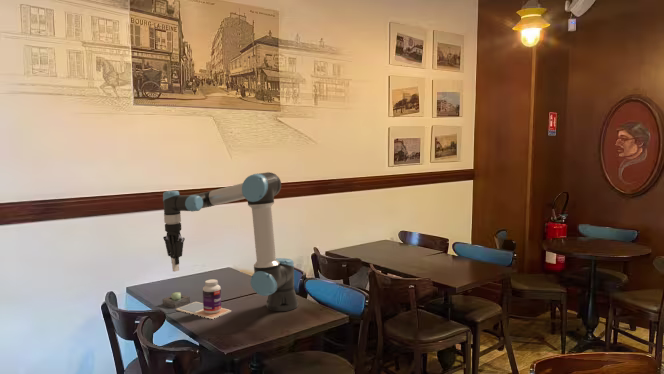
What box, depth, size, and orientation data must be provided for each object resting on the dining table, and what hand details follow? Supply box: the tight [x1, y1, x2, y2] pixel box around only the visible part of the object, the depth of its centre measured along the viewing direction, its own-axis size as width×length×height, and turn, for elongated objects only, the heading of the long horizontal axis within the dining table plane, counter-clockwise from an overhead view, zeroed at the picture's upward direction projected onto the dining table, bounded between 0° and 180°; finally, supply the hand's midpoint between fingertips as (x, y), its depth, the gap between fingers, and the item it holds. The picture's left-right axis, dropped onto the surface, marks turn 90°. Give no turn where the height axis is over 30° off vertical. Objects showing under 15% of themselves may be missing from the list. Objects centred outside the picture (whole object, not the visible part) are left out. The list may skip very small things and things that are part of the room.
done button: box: [170, 291, 182, 300], centre depth 233 cm, size 4×4×4 cm
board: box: [175, 301, 232, 320], centre depth 223 cm, size 24×12×1 cm, turn 58°
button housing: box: [162, 294, 191, 309], centre depth 233 cm, size 9×9×3 cm
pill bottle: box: [202, 279, 222, 314], centre depth 219 cm, size 8×8×14 cm
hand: (175, 270), depth 232 cm, fingers closed
